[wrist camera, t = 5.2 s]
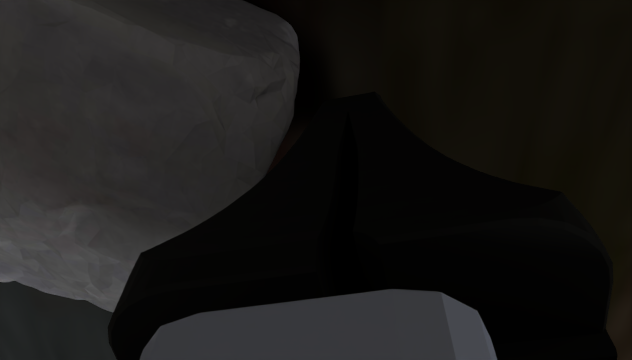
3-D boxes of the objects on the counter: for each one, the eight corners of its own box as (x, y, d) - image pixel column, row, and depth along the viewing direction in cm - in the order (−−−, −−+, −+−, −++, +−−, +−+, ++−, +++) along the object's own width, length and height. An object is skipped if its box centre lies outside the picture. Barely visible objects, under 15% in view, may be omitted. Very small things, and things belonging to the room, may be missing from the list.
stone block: (236, 239, 19) (335, -8, 12) (197, 367, 15) (304, 128, 8) (-114, 127, 17) (-249, -244, 10) (-246, 245, 13) (-593, -192, 6)
